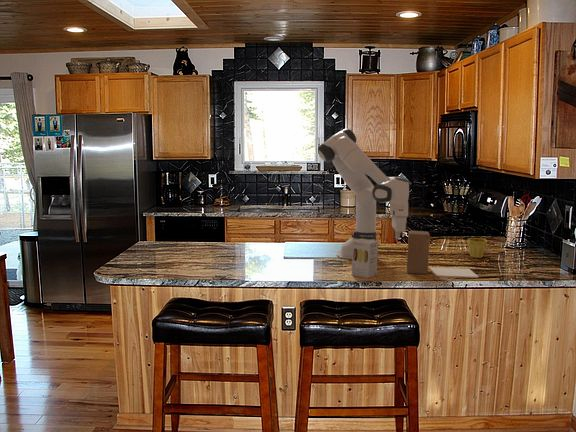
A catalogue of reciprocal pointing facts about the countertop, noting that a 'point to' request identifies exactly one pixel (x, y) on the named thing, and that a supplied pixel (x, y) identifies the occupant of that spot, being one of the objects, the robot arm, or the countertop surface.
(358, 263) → the supplement box
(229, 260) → the countertop surface
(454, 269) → the mat
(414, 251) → the wooden block
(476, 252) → the plant pot
